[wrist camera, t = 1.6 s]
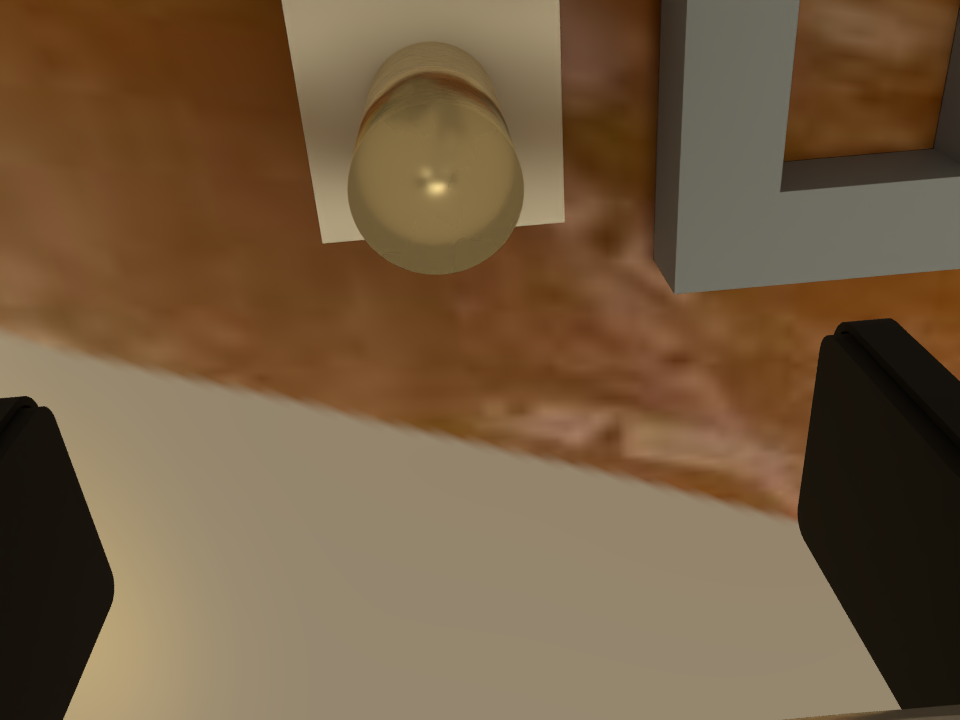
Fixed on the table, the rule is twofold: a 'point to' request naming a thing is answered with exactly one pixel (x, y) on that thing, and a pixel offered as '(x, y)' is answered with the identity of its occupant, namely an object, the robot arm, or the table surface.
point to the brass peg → (434, 163)
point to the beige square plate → (406, 21)
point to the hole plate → (782, 166)
